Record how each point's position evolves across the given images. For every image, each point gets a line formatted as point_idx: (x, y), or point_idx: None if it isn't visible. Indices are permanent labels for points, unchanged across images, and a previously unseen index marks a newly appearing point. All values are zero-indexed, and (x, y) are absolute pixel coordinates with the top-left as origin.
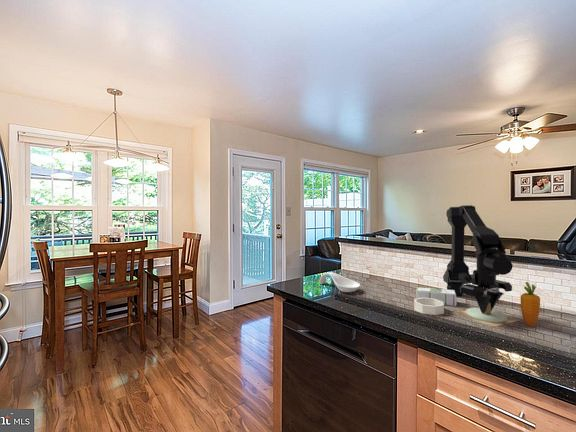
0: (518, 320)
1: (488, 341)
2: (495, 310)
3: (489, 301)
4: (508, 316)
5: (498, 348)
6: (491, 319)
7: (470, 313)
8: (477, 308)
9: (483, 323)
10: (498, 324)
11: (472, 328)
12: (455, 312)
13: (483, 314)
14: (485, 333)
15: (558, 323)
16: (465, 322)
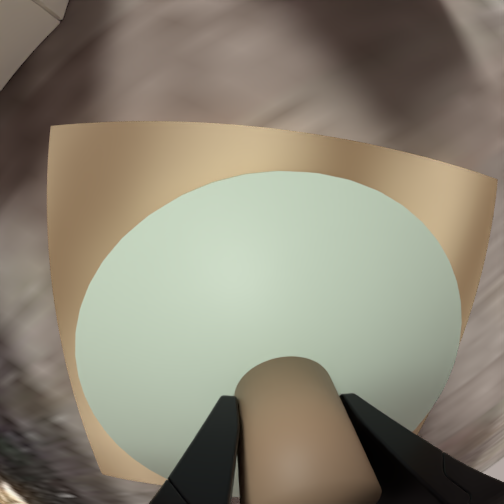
0: None
1: (5, 465)
2: (451, 365)
3: (389, 502)
4: (422, 422)
5: (11, 487)
6: (165, 474)
7: (100, 317)
8: (386, 239)
9: (88, 434)
10: None
11: (8, 388)
12: (67, 127)
13: None
14: (37, 447)
15: (481, 461)
16: (25, 311)
